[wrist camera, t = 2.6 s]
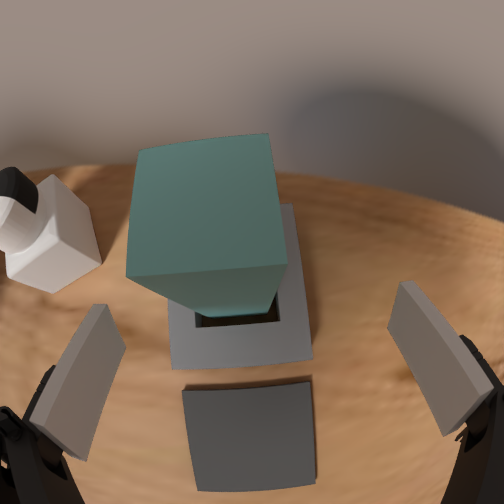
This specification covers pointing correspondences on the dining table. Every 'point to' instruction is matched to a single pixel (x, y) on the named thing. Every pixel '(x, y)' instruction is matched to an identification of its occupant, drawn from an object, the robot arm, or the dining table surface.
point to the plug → (208, 225)
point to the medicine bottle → (45, 232)
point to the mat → (251, 437)
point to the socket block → (251, 335)
